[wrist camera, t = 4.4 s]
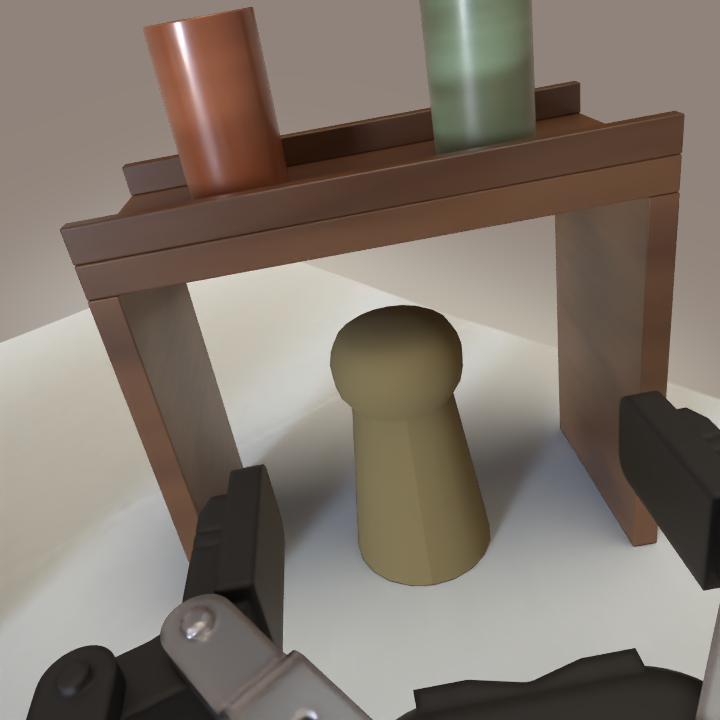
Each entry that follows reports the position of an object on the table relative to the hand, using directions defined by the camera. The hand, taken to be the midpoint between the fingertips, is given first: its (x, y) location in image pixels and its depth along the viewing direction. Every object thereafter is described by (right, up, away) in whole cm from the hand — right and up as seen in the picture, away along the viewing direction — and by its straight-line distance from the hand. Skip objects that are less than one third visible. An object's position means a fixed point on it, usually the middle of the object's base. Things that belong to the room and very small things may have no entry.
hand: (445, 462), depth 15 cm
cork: (+1, -6, +16) cm, 17 cm away
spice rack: (+1, -5, +17) cm, 18 cm away
